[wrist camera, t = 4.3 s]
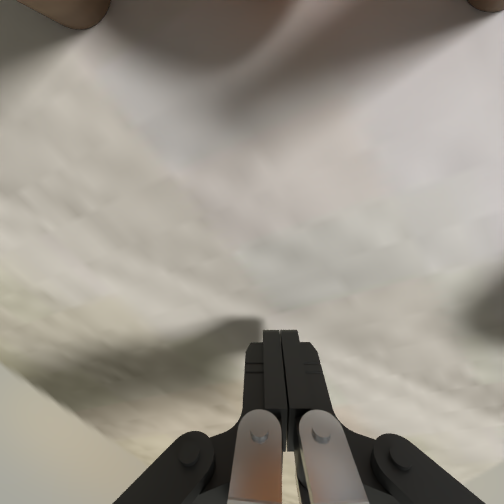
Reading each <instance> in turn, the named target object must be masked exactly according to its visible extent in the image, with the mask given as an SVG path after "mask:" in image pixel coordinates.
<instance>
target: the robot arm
mask: <svg viewBox="0 0 504 504" xmlns="http://www.w3.org/2000/svg"><path fill="white" fill-rule="evenodd" d="M286 441H287V451H294V455H295V464H296V471H295V479H296V486H297V492H298V497H299V503H300V504H485V503H484V502H483V501H481V500H480V499H479V498H478V497H477V496H475V495H474V494H473V493H472V492H470V491H469V490H468V489H467V488H466V487H464V486H463V485H462V484H461V483H460V482H458V481H457V480H456V479H455V478H453V477H452V476H451V475H450V474H449V473H447V472H446V471H445V470H444V469H443V468H441V467H440V466H439V465H438V464H436V463H435V462H434V461H433V460H432V459H430V458H429V457H428V456H427V455H426V454H424V453H423V452H422V451H421V450H419V449H418V448H417V447H416V446H415V445H413V444H412V443H411V442H410V441H408V440H407V439H405V438H403V437H401V436H399V435H396V434H383V435H381V436H379V437H378V438H377V439H376V440H374V439H372V438H369V437H366V436H363V435H360V434H357V433H355V432H353V431H351V430H349V429H348V428H346V427H345V426H344V425H343V424H342V423H341V422H340V421H339V420H338V419H337V417H336V416H335V414H334V411H333V409H332V405H331V401H330V397H329V394H328V390H327V386H326V382H325V379H324V375H323V371H322V367H321V365H320V360H319V356H318V352H317V351H316V349H315V348H314V347H313V345H312V344H311V343H310V342H300V341H299V336H298V331H297V330H280V332H279V330H263V342H260V343H251V344H250V345H249V347H248V349H247V351H246V357H245V374H244V392H243V409H242V414H241V417H240V419H239V420H238V422H237V423H236V424H235V426H233V427H232V428H231V429H230V430H228V431H226V432H224V433H221V434H219V435H216V436H213V437H210V438H209V437H208V436H207V435H206V434H204V433H202V432H199V431H191V432H187V433H185V434H183V435H181V436H180V437H179V438H177V439H176V440H175V441H174V442H173V443H172V444H171V445H170V446H169V447H168V448H167V449H166V450H165V451H164V452H163V453H162V454H161V455H160V456H159V457H158V458H157V459H156V460H155V461H154V462H153V463H152V464H151V465H150V466H149V467H148V468H147V469H146V471H144V472H143V474H142V475H141V476H140V477H139V478H138V479H137V480H136V481H135V482H134V483H133V484H132V485H131V486H130V487H129V488H128V489H127V490H126V491H125V492H124V493H123V494H122V495H121V496H120V497H119V498H118V499H117V500H116V501H115V502H114V503H113V504H282V463H283V452H286Z"/></svg>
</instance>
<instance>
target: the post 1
mask: <svg viewBox="0 0 504 504" xmlns="http://www.w3.org/2000/svg"><path fill="white" fill-rule="evenodd" d="M17 1H18V2H20V3H22V4H24V5H26V6H28V7H30V8H31V9H33V10H35V11H37V12H39V13H41V14H43V15H44V16H46V17H48V18H50V19H52V20H54V21H56V22H57V23H59V24H61V25H63V26H66V27H68V28H72V29H87V28H90V27H92V26H94V25H96V24H97V23H98V22H99V21H100V20H101V19H102V18H103V17H104V15H105V14H106V12H107V10H108V8H109V5H110V1H111V0H17Z"/></svg>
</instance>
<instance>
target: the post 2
mask: <svg viewBox="0 0 504 504" xmlns="http://www.w3.org/2000/svg"><path fill="white" fill-rule="evenodd" d="M467 1H468V2H469V3H470V4H471V5H472V6H473V7H475V8H476V9H479V10H481V11H485V12H496V11H501V10H504V0H467Z"/></svg>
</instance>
